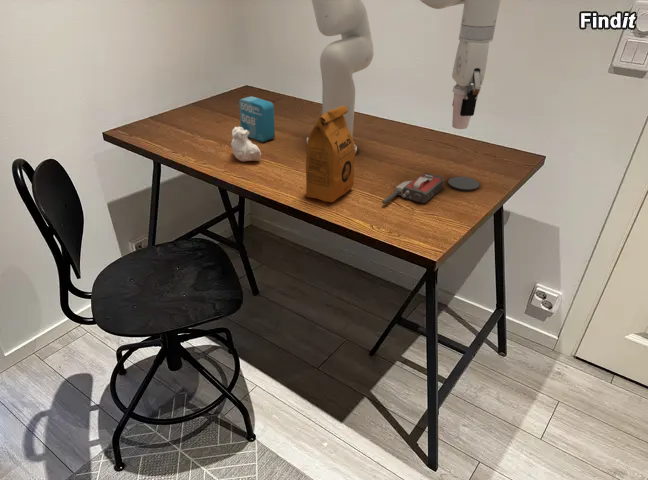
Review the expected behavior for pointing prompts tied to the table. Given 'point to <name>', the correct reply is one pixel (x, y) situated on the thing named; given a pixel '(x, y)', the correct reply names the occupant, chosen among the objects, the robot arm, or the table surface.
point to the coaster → (463, 184)
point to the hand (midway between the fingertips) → (462, 110)
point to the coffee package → (330, 157)
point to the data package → (257, 118)
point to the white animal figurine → (244, 146)
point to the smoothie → (459, 108)
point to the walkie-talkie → (418, 188)
